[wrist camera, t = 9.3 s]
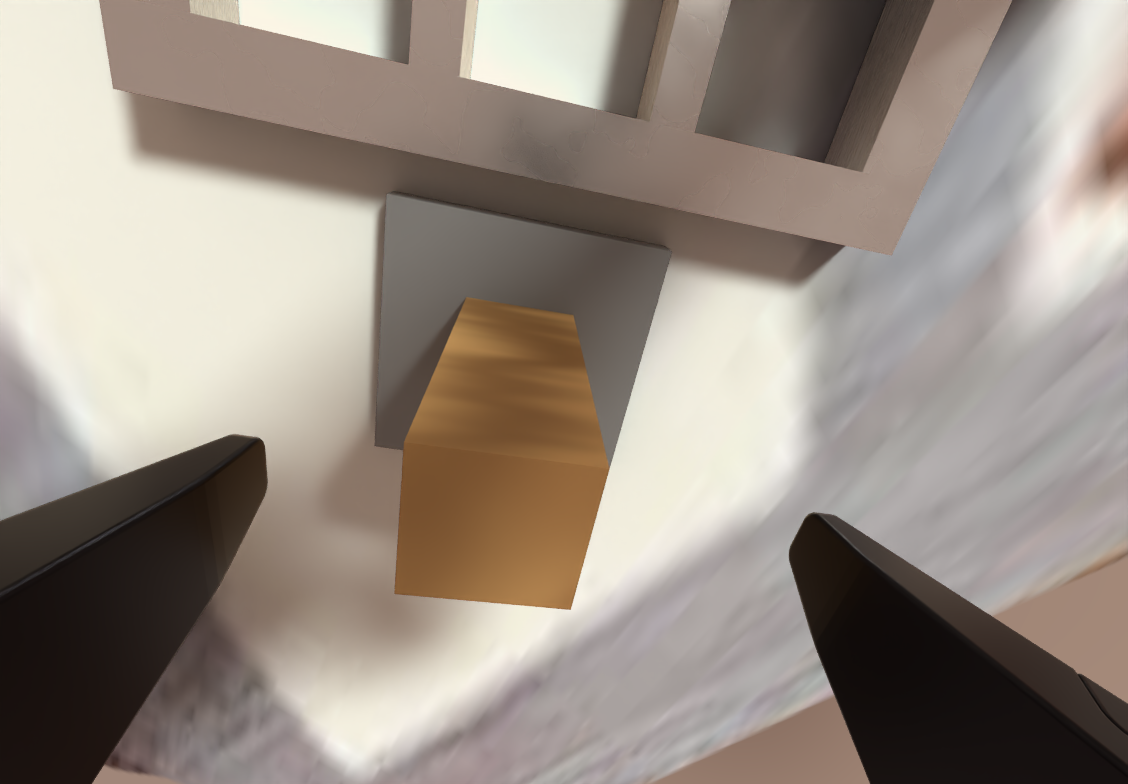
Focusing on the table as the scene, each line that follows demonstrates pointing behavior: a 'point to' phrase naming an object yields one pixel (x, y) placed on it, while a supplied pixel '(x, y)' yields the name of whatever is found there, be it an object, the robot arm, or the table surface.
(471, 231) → the mat
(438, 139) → the grey flat frame
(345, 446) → the table surface
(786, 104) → the table surface
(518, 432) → the peg
